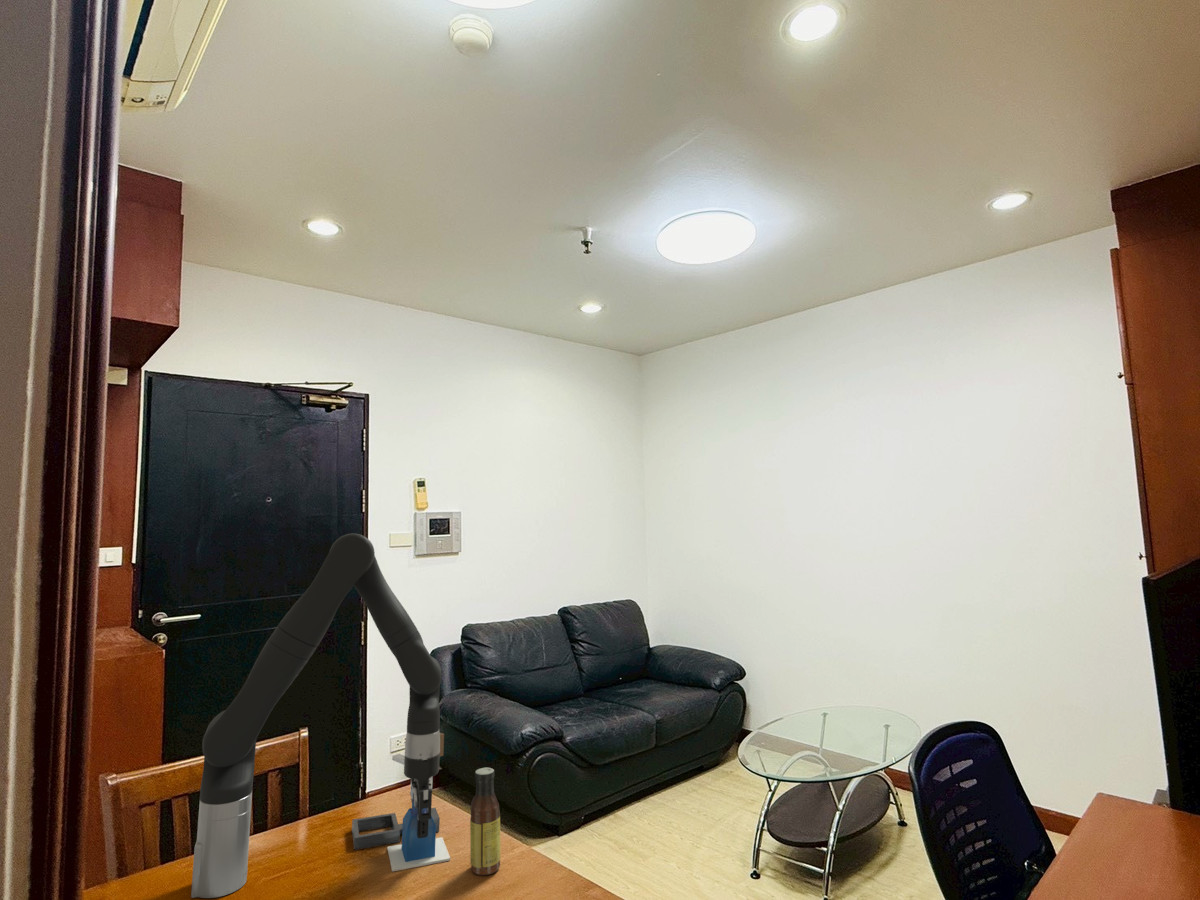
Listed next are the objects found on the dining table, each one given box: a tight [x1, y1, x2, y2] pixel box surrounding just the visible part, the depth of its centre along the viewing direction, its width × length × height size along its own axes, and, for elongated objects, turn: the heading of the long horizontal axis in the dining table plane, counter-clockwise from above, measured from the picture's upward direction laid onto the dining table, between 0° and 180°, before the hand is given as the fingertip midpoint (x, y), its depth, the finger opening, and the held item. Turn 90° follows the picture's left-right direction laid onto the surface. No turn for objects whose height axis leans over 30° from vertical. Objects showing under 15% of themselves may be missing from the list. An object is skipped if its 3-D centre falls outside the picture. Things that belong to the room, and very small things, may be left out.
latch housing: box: [351, 807, 441, 851], centre depth 154 cm, size 19×10×3 cm, turn 113°
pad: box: [387, 836, 451, 873], centre depth 144 cm, size 12×10×1 cm
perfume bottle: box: [401, 795, 437, 862], centre depth 145 cm, size 6×6×12 cm
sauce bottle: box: [469, 767, 502, 876], centre depth 140 cm, size 7×6×20 cm
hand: (419, 828), depth 145 cm, fingers open, 8 cm apart
